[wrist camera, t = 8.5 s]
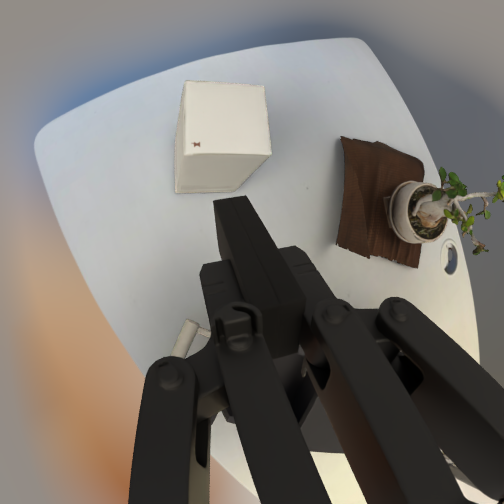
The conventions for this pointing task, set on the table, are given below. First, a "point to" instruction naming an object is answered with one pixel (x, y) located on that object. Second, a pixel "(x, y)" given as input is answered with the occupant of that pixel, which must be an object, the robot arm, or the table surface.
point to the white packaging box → (220, 136)
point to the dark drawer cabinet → (318, 429)
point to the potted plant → (398, 204)
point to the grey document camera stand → (470, 488)
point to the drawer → (287, 366)
